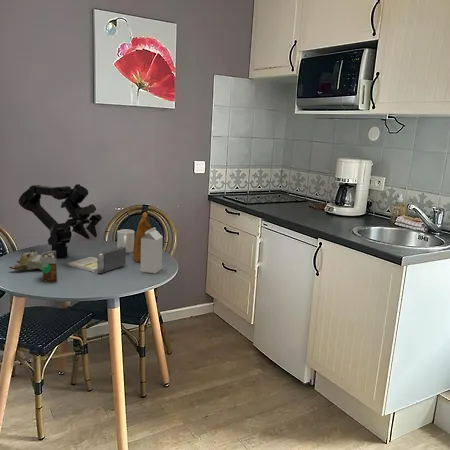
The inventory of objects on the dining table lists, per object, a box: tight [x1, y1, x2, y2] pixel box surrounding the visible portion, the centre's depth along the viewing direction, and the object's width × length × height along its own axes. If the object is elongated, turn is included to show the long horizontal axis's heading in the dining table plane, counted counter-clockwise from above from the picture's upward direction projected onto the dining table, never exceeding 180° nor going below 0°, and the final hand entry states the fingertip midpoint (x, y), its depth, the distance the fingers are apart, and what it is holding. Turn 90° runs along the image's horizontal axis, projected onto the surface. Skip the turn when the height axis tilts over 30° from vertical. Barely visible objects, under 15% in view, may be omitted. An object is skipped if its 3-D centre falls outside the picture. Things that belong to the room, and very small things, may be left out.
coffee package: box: [132, 211, 153, 263], centre depth 215 cm, size 10×12×22 cm
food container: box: [40, 250, 58, 283], centre depth 182 cm, size 12×6×10 cm, turn 21°
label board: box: [68, 256, 97, 273], centre depth 203 cm, size 15×13×2 cm
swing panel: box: [96, 247, 127, 274], centre depth 198 cm, size 15×3×8 cm, turn 150°
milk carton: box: [139, 226, 164, 274], centre depth 199 cm, size 7×7×19 cm
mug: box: [116, 228, 135, 254], centre depth 226 cm, size 12×8×10 cm
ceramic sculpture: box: [8, 249, 43, 271], centre depth 193 cm, size 11×9×15 cm
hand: (92, 237), depth 201 cm, fingers open, 4 cm apart
